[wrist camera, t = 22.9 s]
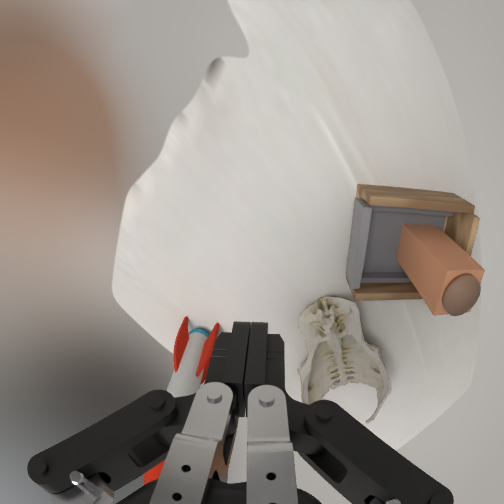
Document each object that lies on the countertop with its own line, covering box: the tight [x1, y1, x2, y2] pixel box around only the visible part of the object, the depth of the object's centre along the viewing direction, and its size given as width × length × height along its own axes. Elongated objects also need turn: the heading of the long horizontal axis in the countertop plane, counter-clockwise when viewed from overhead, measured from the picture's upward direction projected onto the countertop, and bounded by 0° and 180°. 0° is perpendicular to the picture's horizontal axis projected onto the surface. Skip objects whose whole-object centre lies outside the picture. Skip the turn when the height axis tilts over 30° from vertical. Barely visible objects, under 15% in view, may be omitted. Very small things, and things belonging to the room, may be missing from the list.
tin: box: [396, 224, 485, 316], centre depth 29 cm, size 5×5×13 cm
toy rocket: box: [144, 316, 219, 485], centre depth 32 cm, size 6×6×30 cm
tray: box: [346, 198, 453, 289], centre depth 34 cm, size 10×13×4 cm
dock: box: [346, 184, 480, 301], centre depth 33 cm, size 13×14×7 cm
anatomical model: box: [297, 296, 391, 423], centre depth 42 cm, size 15×9×25 cm
